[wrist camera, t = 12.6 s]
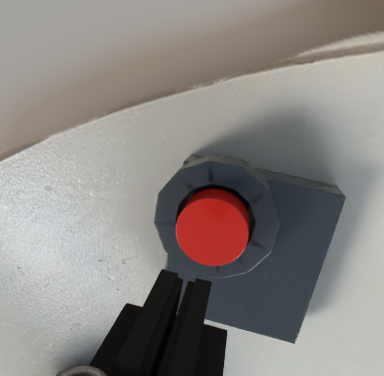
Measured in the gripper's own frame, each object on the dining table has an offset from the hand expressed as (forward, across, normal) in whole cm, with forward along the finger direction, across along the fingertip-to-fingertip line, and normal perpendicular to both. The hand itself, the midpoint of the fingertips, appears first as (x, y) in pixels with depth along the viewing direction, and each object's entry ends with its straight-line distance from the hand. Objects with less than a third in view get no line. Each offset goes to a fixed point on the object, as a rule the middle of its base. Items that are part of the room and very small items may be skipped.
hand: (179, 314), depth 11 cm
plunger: (+8, 0, 0) cm, 8 cm away
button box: (+11, -2, +2) cm, 12 cm away
